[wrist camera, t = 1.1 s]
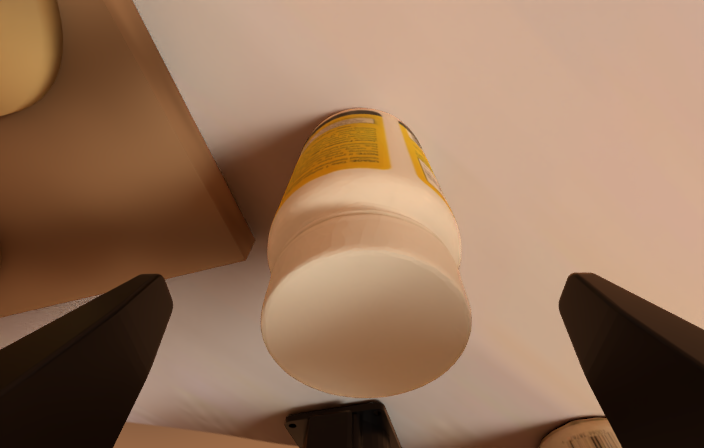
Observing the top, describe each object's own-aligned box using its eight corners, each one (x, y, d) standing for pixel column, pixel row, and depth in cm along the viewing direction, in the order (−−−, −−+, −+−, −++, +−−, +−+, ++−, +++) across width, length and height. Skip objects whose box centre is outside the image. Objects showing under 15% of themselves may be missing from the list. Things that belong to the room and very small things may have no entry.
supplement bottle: (285, 193, 14) (207, 372, 7) (329, 82, 12) (282, 179, 5) (388, 235, 15) (413, 431, 8) (447, 139, 13) (553, 291, 6)
